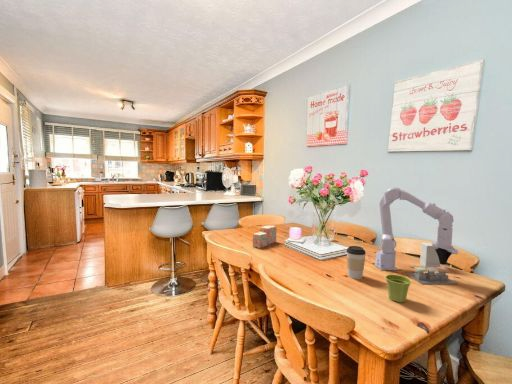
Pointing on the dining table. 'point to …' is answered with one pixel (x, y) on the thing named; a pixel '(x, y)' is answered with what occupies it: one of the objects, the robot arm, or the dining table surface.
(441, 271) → the key terracotta
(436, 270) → the key cream
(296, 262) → the dining table surface
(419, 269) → the key sage
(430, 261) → the supplement box
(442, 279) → the keypad base
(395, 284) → the plant pot
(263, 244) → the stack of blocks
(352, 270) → the coffee cup
